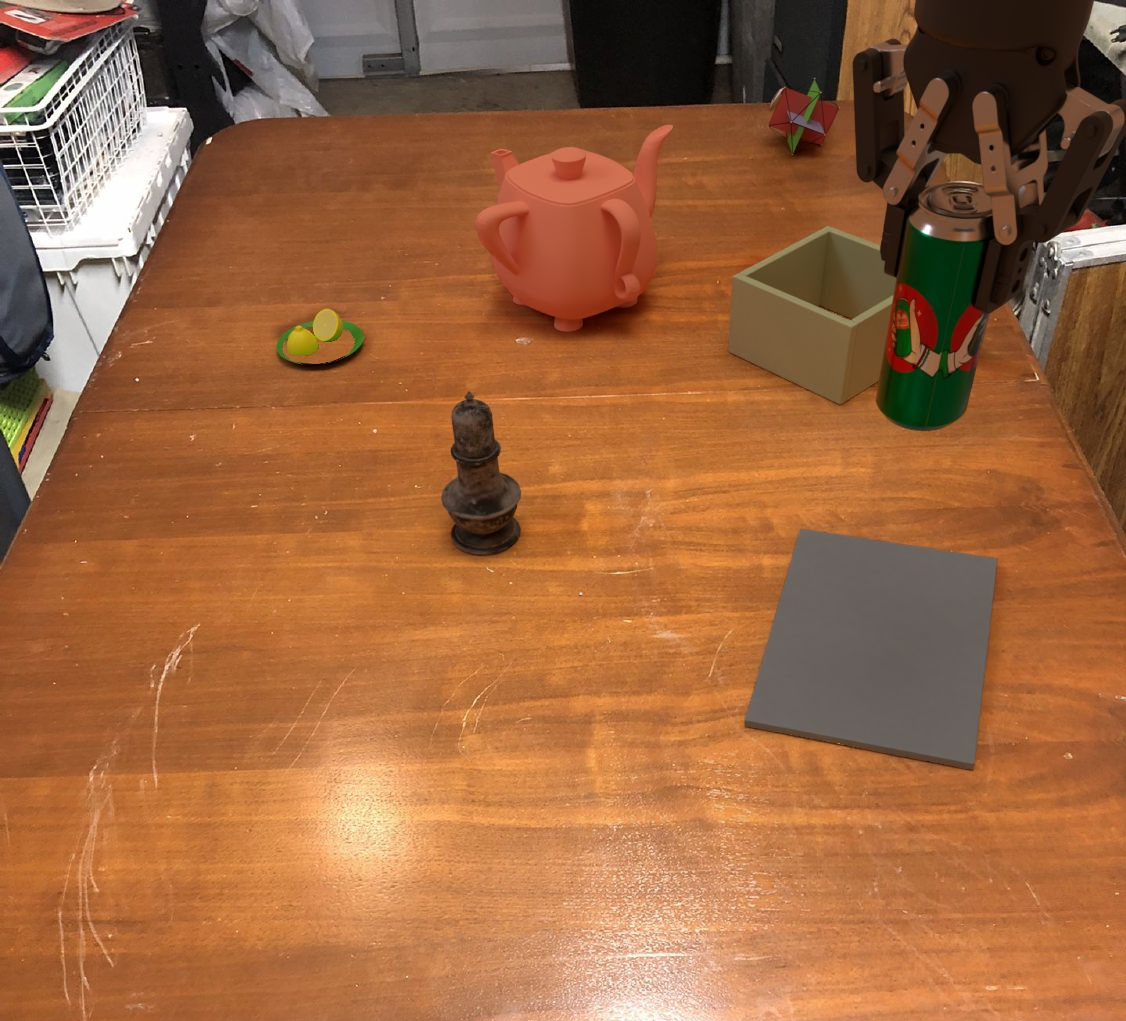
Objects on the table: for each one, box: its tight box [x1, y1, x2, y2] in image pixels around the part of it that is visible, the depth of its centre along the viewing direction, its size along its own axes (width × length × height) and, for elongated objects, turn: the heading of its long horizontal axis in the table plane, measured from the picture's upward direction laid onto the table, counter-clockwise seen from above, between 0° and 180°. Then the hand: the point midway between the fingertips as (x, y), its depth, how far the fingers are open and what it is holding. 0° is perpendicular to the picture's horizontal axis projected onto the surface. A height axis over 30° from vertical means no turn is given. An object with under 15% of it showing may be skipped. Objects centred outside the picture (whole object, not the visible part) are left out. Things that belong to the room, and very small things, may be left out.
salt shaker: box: [440, 390, 522, 556], centre depth 84 cm, size 6×6×12 cm
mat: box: [743, 528, 999, 771], centre depth 79 cm, size 20×14×1 cm
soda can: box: [875, 180, 995, 432], centre depth 63 cm, size 5×5×12 cm
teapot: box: [475, 124, 674, 333], centre depth 107 cm, size 16×17×14 cm
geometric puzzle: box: [767, 77, 841, 156], centre depth 130 cm, size 7×7×8 cm
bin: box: [727, 225, 896, 406], centre depth 101 cm, size 13×13×7 cm
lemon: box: [276, 308, 365, 365], centre depth 107 cm, size 8×8×3 cm
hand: (944, 286), depth 62 cm, fingers closed on soda can, 5 cm apart
